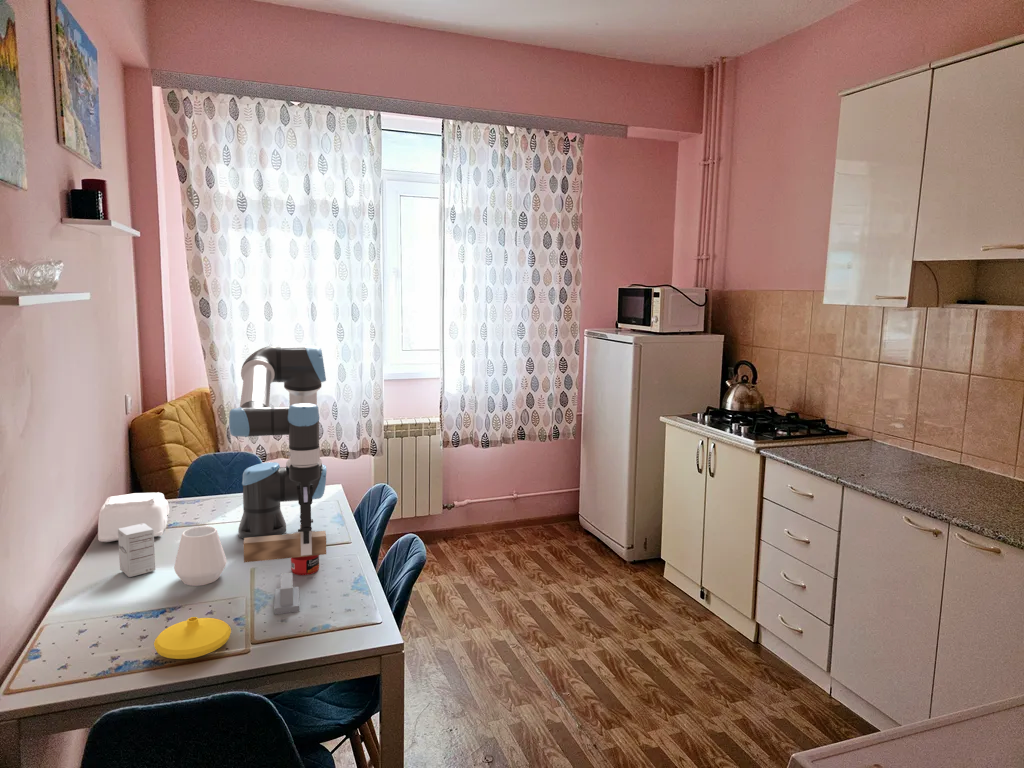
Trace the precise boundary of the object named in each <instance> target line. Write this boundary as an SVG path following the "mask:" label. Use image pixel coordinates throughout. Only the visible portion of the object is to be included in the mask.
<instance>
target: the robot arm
mask: <svg viewBox="0 0 1024 768" xmlns="http://www.w3.org/2000/svg"><path fill="white" fill-rule="evenodd" d="M322 351H323V350H322V348H320V347H319V346H317V345H307V344H305V345H304V344H303V345H269V346H266V347H265V346H264V347H262V348H260V349H258V350H255V351H254V352H252V353H251V354H250V355H249V356H248V357H247V358H246V359H245V361H244V362H243V363H242V366H241V370H240V377H241V380H242V389H241V397H240V402H239V407H235V408H231V409H229V410H230V411H229V413H228V414H229V415H228V418H229V419H228V424H229V433H230V435H231V436H232V437H245V438H248V437H261V436H262V437H266V436H288V452H286V456H288V458H289V459H288V460H286V464H285V466H281V465H280V463H278V462H276V461H273V462H272V461H270V462H269V461H268V462H261V463H257V464H254V465H252V466H249V467H246V469H244V471H243V473H242V482H241V485H242V505H243V506H242V508H243V510H242V511H243V513H242V516H241V519H240V521H239V525H238V529H237V530H238V537H239V538H240V539H242V540H244V538H250V537H261V536H272V535H282V534H286V532H287V523H286V520H285V517H284V515H283V512H282V510H281V502H283V503H284V502H285V503H286V502H298V505H299V511H300V512H299V514H300V515H299V518H300V519H299V523H300V525H299V527H300V528H299V529H297V532H300V534H301V556H303V555H312V531H313V529H312V524H313V523H314V519H313V518H312V504H313V500H320V499H322V498H323V496H324V494H325V490H326V485H327V484H326V483H327V473H328V472H327V471H328V470H327V465H325V464H323V460H322V458H321V457H320V456H321V454H320V453H321V450H320V449H321V448H320V447H321V446H320V411H319V406H318V396H317V395H318V394H317V393H318V391H319V390H320V389H321V388H322V383H324V382H326V381H327V378H326V371H325V363H324V356H323V352H322ZM272 383H283V387H284V389H285V390H286V391H288V393H289V395H288V396H289V400H288V402H289V406H275V407H274V406H271V407H270V401H271V400H270V399H271V384H272Z"/></svg>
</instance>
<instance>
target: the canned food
mask: <svg viewBox="0 0 1024 768" xmlns="http://www.w3.org/2000/svg"><path fill="white" fill-rule="evenodd" d="M311 531H312V532H316V531H315V530H311ZM294 533H300V532H298V531H296V532H293V533H292V534H294ZM290 569H291V573H293V575H297V576H309V575H312V574H315V573H317V572H318V571H319V569H320V555H314V556H304V557H295V558H290Z"/></svg>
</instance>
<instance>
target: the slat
mask: <svg viewBox="0 0 1024 768" xmlns="http://www.w3.org/2000/svg"><path fill="white" fill-rule="evenodd" d="M293 533H294V534H293ZM293 533H284V534H283V535H272V536H261V537H250V538H244V539H243V563H244V564H245V563H255V562H262V561H272V560H274V561H275V560H283V559H291V558H295V557H304V556H314V555H319V556H322V555H323V556H324V555H327V533H326V530H320V531H319V530H318V531H315V532H312V555H303V556H301V534H300V533H295V532H293Z"/></svg>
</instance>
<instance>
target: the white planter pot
mask: <svg viewBox="0 0 1024 768" xmlns="http://www.w3.org/2000/svg"><path fill="white" fill-rule="evenodd" d="M227 562H228V561H227V557H226V553H225V550H224V548H223V545H222V542H221V539H220V536H219V533H218V530H217V528H216V527H213V526H206V525H203V526H202V525H201V526H195V527H191V528H188V529H186V530H184V531H182V533H181V537H180V541H179V545H178V549H177V554H176V556H175V562H174V567H173V569H174V572H175V574H176V575H177V577H178V578H179V579H180V580H181V581H182V583H184V585H187V586H193V587H195V586H196V587H199V586H204V585H209V584H211V583H212V584H213V583H214V582H216V581H217V580H218V579H219V578H220V576H221V574H222V573H223V571H224V570H225V568H226V565H227Z"/></svg>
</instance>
